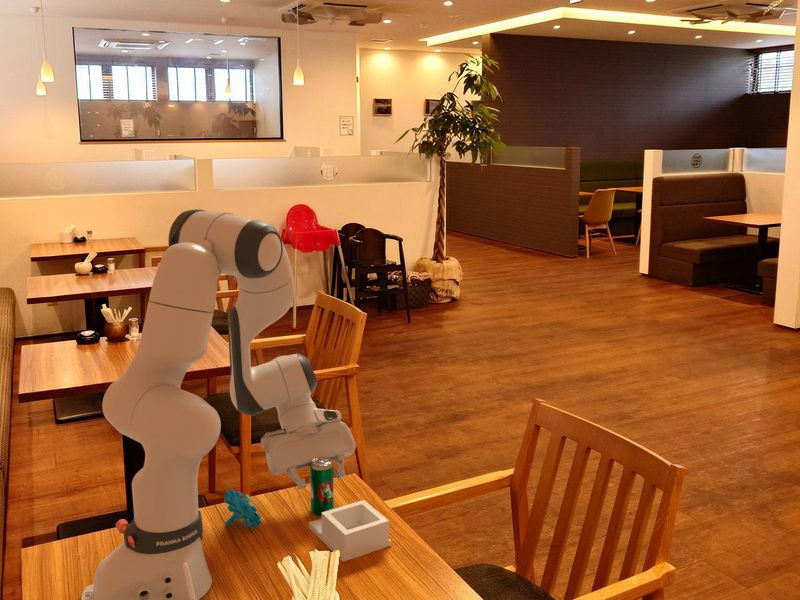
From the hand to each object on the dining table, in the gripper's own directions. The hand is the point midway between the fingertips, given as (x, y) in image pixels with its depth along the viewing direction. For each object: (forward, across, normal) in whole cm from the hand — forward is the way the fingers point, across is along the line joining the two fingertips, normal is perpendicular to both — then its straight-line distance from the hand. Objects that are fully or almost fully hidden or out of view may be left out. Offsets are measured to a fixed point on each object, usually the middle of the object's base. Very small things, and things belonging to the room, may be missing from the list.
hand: (322, 482), depth 166 cm
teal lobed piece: (+2, -16, +9) cm, 19 cm away
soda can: (+5, 0, +5) cm, 7 cm away
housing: (+13, 0, -3) cm, 14 cm away
